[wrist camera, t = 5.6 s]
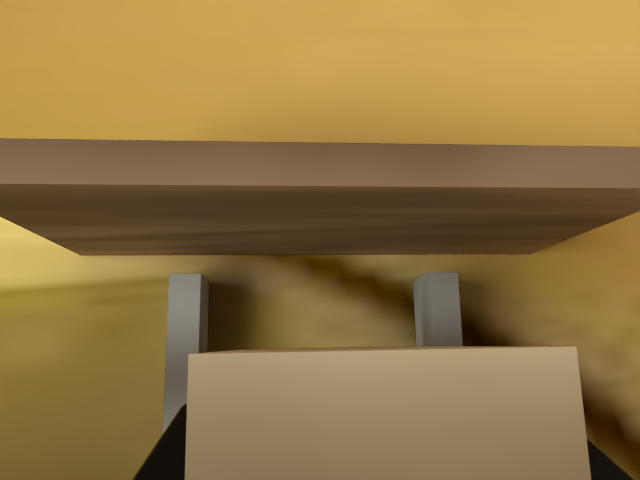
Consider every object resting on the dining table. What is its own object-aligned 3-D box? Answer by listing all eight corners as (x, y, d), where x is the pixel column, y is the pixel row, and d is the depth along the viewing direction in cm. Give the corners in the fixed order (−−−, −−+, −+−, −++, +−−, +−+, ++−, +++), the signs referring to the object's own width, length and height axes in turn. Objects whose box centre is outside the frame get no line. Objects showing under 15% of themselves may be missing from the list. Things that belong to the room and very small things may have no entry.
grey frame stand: (556, 524, 22) (777, 662, 12) (57, 545, 20) (-145, 723, 11) (526, 228, 25) (689, 147, 15) (82, 228, 23) (-62, 137, 13)
